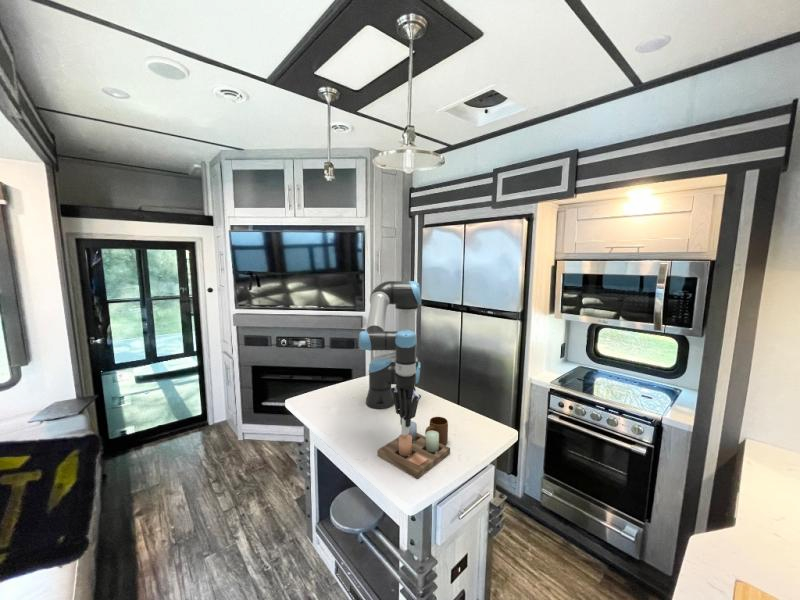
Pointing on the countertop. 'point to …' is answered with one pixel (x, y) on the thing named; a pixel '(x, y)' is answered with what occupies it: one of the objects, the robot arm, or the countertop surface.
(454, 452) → the countertop surface
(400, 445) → the peach rounded cylinder
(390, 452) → the wooden compartment tray
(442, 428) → the mug
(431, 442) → the pale green rounded cylinder
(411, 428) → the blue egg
